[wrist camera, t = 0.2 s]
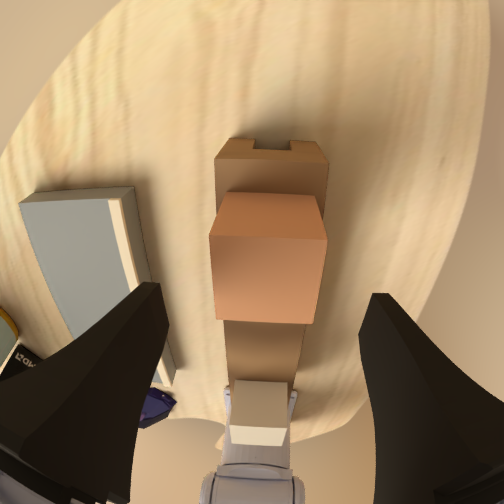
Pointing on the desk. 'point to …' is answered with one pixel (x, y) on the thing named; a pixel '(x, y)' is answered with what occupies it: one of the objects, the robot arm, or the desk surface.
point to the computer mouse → (155, 407)
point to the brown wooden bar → (279, 182)
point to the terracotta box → (267, 257)
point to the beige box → (258, 413)
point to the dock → (90, 254)
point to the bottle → (6, 335)
